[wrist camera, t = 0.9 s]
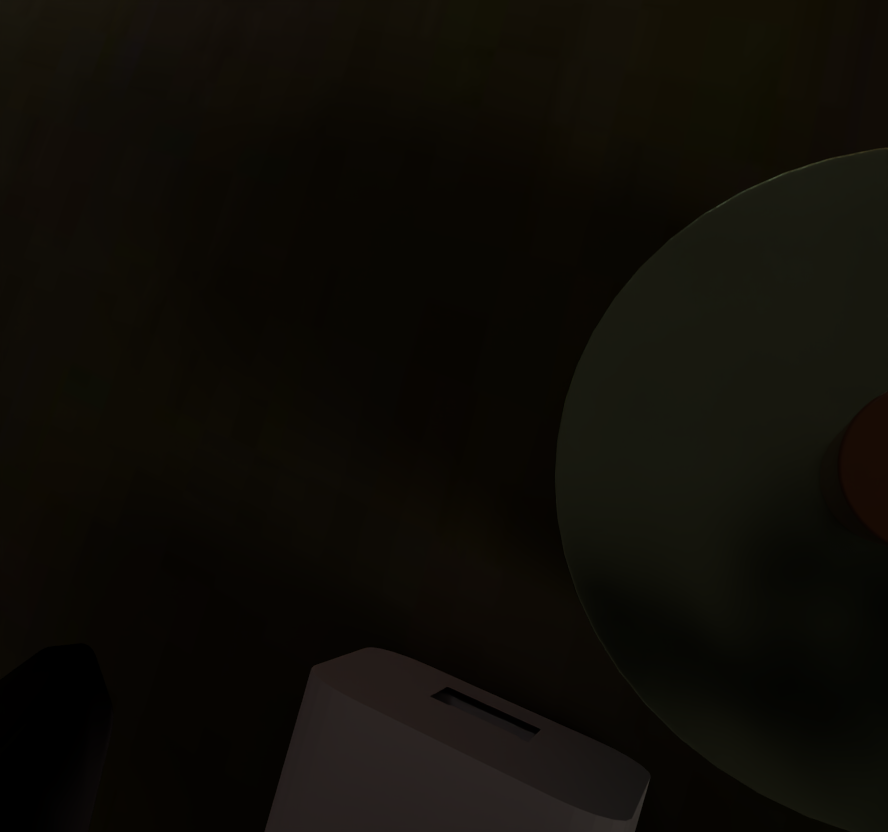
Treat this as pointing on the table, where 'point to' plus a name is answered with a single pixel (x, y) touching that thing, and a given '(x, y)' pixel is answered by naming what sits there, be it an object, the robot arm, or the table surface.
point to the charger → (441, 759)
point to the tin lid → (748, 487)
